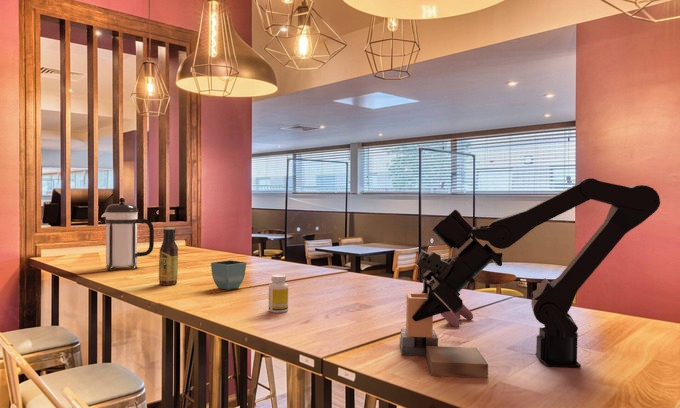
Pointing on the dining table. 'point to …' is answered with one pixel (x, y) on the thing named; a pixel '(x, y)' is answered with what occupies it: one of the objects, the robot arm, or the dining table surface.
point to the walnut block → (456, 362)
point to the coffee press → (124, 235)
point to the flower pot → (228, 274)
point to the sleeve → (422, 326)
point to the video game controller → (457, 315)
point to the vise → (416, 343)
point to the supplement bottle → (278, 294)
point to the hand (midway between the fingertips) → (412, 316)
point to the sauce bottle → (168, 258)
